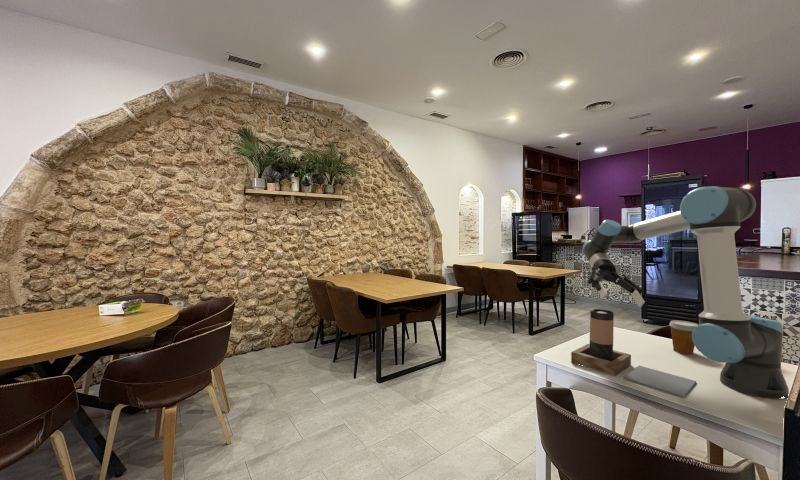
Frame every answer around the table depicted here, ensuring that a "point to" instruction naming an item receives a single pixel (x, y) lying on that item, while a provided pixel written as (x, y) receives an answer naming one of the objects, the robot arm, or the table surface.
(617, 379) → the table surface
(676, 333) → the disposable coffee cup
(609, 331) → the travel mug
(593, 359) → the frame
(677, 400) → the table surface
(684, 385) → the rubber mat
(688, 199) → the robot arm
